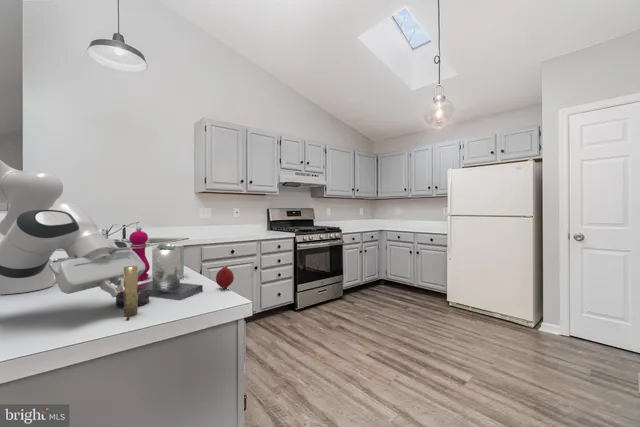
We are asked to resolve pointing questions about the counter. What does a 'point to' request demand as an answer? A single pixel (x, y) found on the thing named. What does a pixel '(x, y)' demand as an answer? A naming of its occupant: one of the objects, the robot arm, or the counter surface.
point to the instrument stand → (168, 275)
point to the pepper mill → (140, 249)
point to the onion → (224, 277)
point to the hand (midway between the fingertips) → (120, 294)
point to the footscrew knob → (132, 292)
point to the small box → (180, 258)
